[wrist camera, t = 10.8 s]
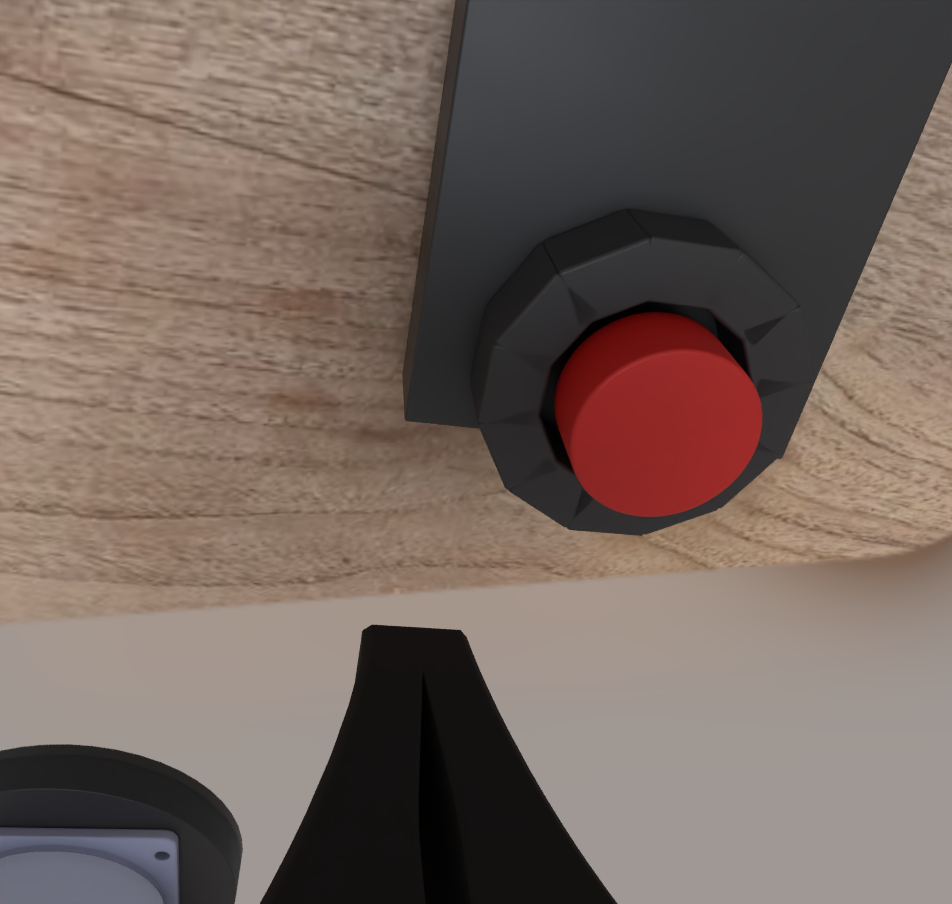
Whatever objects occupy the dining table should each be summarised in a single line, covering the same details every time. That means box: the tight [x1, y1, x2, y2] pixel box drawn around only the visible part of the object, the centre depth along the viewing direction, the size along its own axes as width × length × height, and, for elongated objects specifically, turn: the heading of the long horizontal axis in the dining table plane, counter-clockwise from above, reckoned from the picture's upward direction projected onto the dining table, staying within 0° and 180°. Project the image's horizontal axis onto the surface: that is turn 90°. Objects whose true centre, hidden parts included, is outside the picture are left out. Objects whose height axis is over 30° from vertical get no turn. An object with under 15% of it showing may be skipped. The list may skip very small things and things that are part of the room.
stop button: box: [554, 312, 762, 517], centre depth 16 cm, size 4×4×2 cm
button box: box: [403, 0, 952, 536], centre depth 17 cm, size 11×9×4 cm
